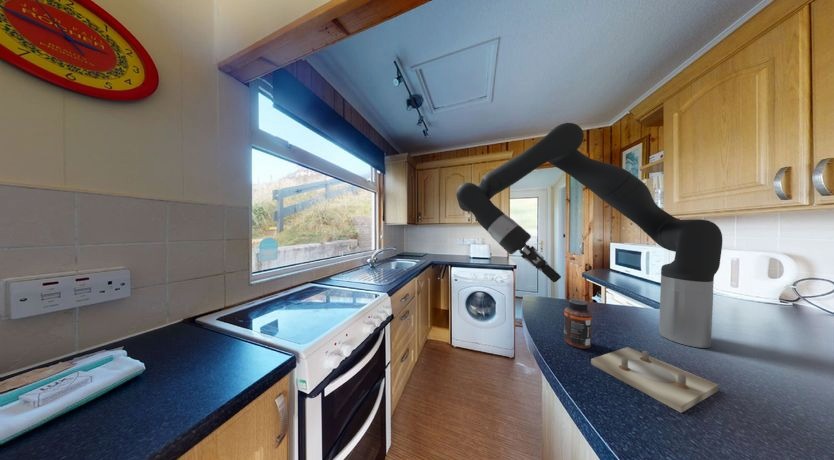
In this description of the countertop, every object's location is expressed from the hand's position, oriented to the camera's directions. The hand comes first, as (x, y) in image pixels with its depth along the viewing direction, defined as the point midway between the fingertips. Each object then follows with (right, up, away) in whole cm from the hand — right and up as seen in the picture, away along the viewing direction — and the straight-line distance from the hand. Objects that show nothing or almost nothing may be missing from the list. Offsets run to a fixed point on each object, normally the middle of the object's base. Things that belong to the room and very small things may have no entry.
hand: (556, 278), depth 56 cm
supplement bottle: (+7, -18, +3) cm, 20 cm away
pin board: (+13, -18, -10) cm, 25 cm away
